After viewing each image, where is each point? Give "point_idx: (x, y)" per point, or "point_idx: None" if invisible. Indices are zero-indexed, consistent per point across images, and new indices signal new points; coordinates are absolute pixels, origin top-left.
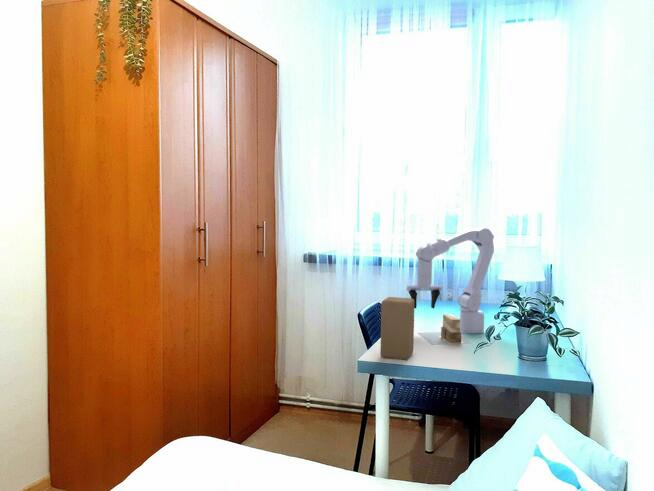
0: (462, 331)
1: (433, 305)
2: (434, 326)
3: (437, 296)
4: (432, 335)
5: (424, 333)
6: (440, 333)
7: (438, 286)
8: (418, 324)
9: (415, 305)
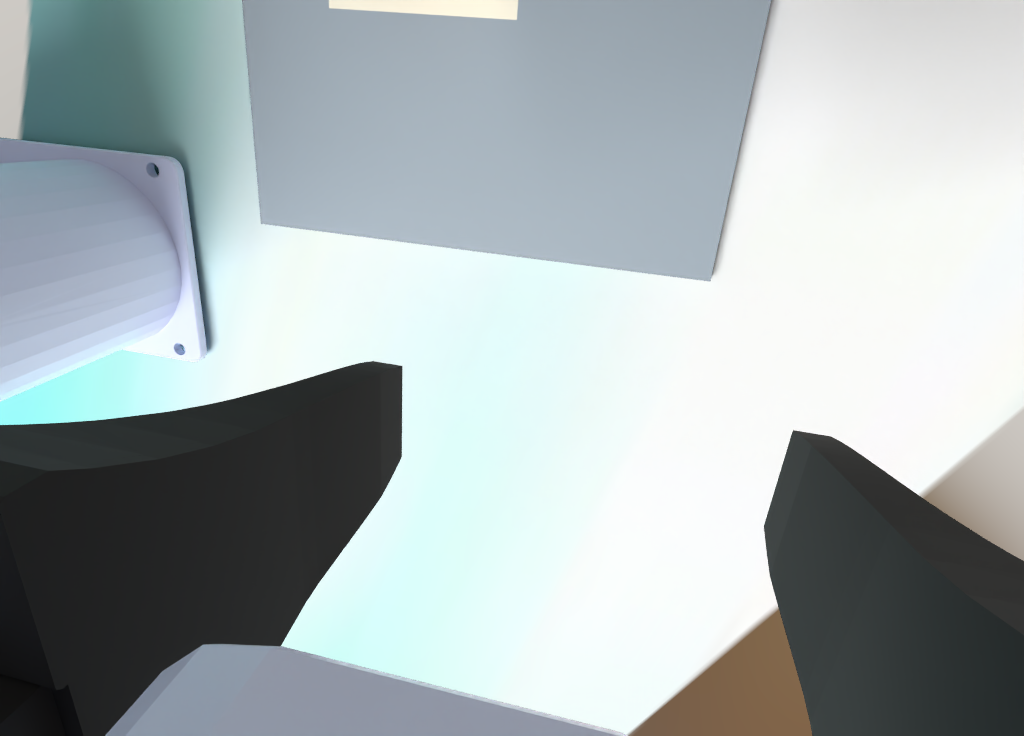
0: (171, 199)
1: (364, 376)
2: (379, 525)
3: (94, 426)
4: (581, 78)
5: (635, 215)
6: (435, 179)
7: None
8: (500, 631)
9: (851, 458)
